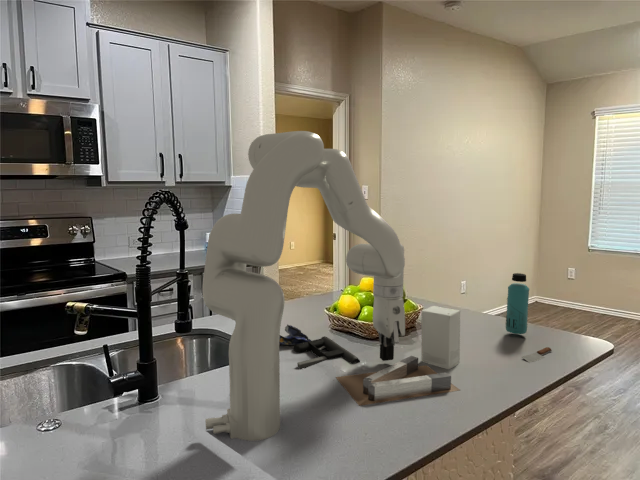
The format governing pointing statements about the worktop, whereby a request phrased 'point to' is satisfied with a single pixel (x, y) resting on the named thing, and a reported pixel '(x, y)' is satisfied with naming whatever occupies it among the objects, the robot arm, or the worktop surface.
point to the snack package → (293, 336)
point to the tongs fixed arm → (409, 386)
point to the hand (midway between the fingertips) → (386, 359)
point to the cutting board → (355, 389)
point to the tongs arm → (392, 372)
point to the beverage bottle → (517, 305)
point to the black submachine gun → (316, 348)
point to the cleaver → (537, 355)
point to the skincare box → (440, 337)
